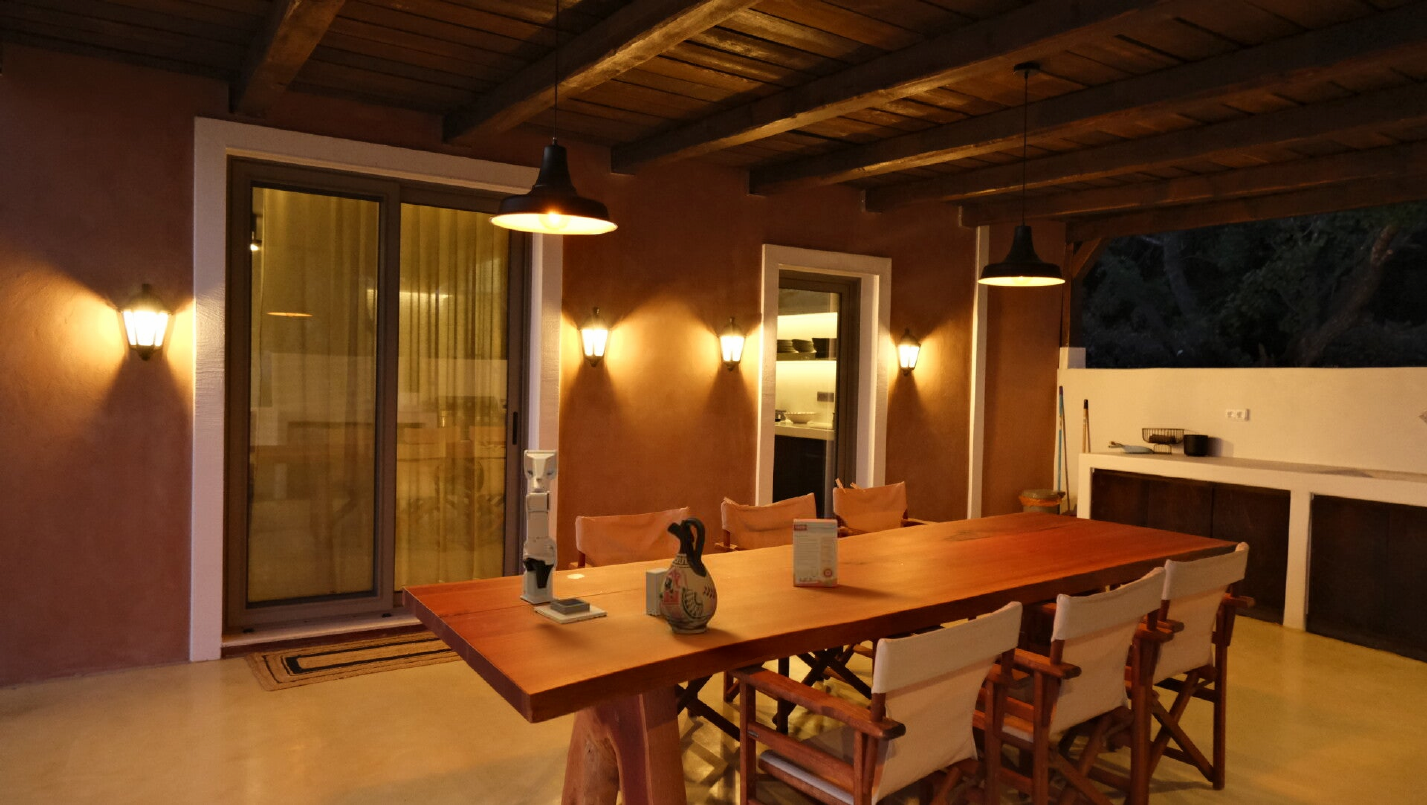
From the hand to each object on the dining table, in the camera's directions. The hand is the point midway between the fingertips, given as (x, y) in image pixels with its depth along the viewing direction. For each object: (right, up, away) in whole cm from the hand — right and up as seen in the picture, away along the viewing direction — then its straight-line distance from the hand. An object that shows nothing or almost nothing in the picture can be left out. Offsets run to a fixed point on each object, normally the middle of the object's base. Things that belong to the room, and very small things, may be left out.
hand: (538, 586), depth 241 cm
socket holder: (+8, -9, +6) cm, 13 cm away
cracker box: (+80, -9, +42) cm, 91 cm away
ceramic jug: (+41, -10, -9) cm, 43 cm away
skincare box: (+32, -9, +7) cm, 34 cm away
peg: (0, -2, 0) cm, 2 cm away
